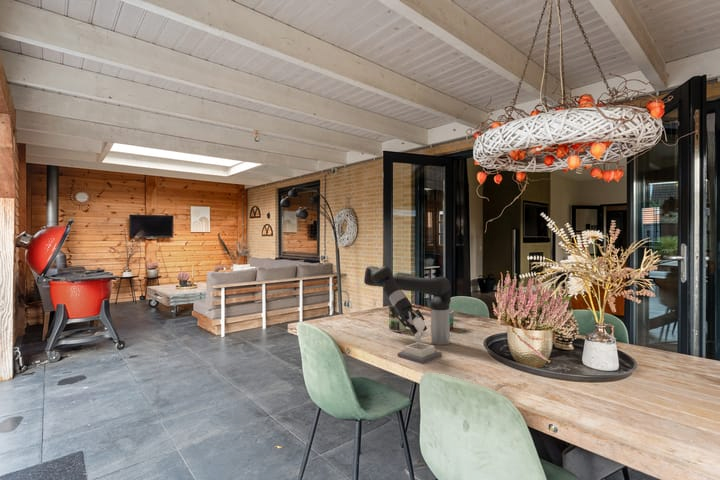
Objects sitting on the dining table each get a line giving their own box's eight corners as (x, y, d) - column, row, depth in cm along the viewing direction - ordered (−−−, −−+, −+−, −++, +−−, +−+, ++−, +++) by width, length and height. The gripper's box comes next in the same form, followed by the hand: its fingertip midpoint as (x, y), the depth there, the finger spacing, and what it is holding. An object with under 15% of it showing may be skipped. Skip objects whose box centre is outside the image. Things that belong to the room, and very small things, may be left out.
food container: (447, 331, 208) (446, 314, 208) (438, 330, 212) (437, 312, 212) (459, 328, 216) (459, 310, 216) (450, 326, 221) (450, 309, 220)
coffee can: (390, 332, 210) (390, 307, 210) (387, 327, 220) (386, 304, 220) (408, 331, 211) (408, 306, 211) (404, 326, 221) (403, 303, 221)
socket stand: (397, 356, 167) (397, 346, 167) (416, 349, 176) (416, 340, 176) (423, 363, 157) (422, 353, 157) (441, 355, 166) (441, 345, 166)
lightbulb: (415, 344, 163) (415, 320, 162) (408, 341, 168) (408, 317, 168) (427, 343, 165) (427, 318, 165) (420, 339, 171) (419, 315, 171)
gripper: (405, 304, 181) (425, 333, 172) (385, 309, 171) (406, 339, 162) (414, 295, 177) (435, 323, 169) (394, 299, 167) (415, 329, 159)
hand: (420, 331), depth 166 cm, fingers closed on lightbulb, 6 cm apart
